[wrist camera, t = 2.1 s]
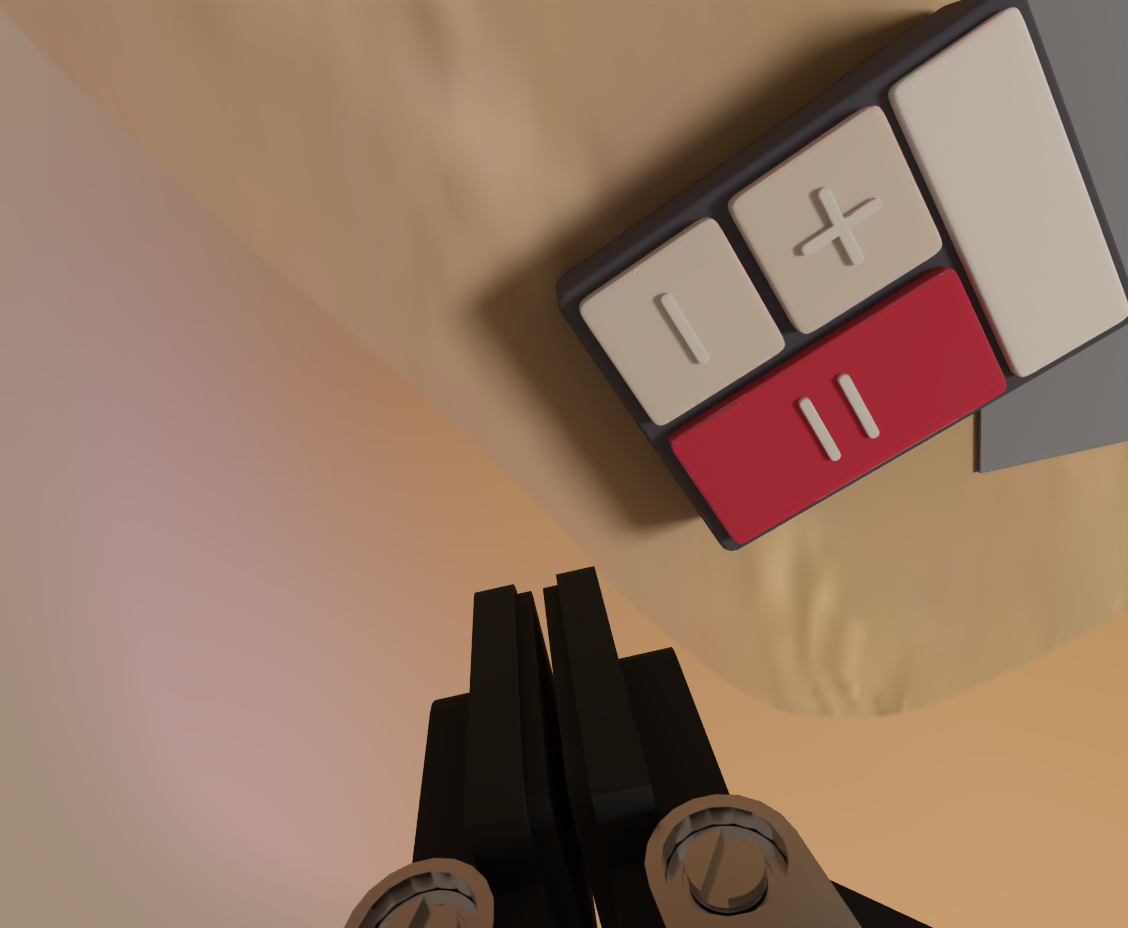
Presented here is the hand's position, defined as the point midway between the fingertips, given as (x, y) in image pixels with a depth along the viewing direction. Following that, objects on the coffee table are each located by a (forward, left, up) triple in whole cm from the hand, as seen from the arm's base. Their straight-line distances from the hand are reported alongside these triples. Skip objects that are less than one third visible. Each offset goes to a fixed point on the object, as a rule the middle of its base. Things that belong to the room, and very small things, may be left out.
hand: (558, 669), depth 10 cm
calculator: (0, +11, -17) cm, 20 cm away
